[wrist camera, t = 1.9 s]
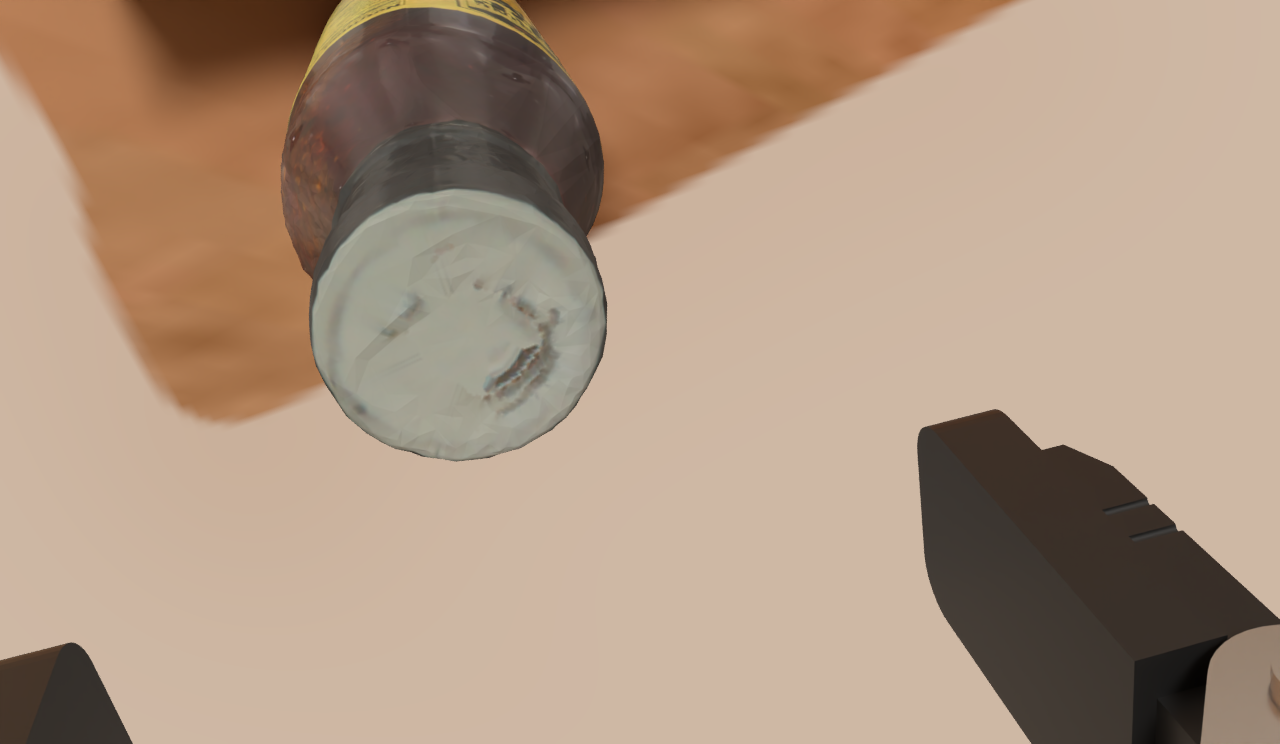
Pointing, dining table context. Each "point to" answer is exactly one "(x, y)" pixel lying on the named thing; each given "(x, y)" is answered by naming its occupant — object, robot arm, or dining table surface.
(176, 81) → the dining table surface
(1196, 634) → the robot arm
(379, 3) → the sauce bottle
